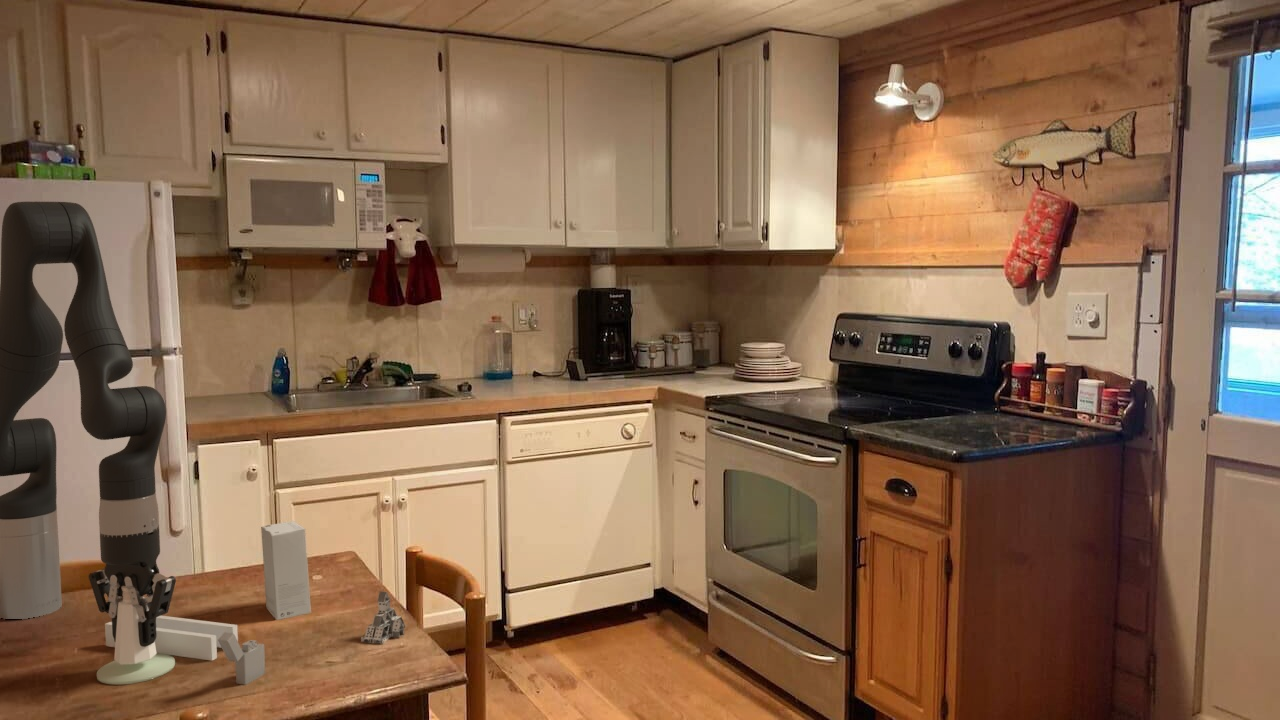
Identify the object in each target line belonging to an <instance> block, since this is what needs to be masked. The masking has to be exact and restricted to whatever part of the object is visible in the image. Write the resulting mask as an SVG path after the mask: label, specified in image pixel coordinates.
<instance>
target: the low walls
mask: <svg viewBox="0 0 1280 720" xmlns="http://www.w3.org/2000/svg"><path fill="white" fill-rule="evenodd" d="M104 629H105V630H104V633H105V647H111V648H115V641H114V637H113V633H112V621H109V622H106V623H104ZM225 632H227V633H233V634H234V635H235V637H236V639H237V641H238V642H239V636H238V635H239V634H238V624H233V623H231V624H230V623H225V622H218V621H217V622H215V621H208V620H200V619H193V618H183V617H176V616H168V615H161V616H159V617H157V618H156V640H155V646H156V652H157V653H159V654H167V655H170V656H174V657H175V656H176V657H177V656H178V657H182V658H183V657H184V658H189V659H198V660H205V661H214V660H217V658H218V652H217V651H218V649H217V648H220V649H222V647H221V645H220V643H219V641H218V639H219V638H220V637H221V636H222V635H223V634H224V633H225Z"/></svg>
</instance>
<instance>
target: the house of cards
mask: <svg viewBox="0 0 1280 720" xmlns="http://www.w3.org/2000/svg"><path fill="white" fill-rule="evenodd" d="M391 600H392V599H391V598H390V596H389V594H388V591H383V590H380V591H379V593H378V595H377V601H376V602H377V603H378V604H377V605H378V606H377V607H378V608H377V609H378V610H377V611H378V612H377V613H375V614H374V617H373V620H372V623H370V624H369V625H367V626H366V630H365V634H364V635H363V636H361V638H360V640H361V643H367V644H379V645H384V643H385V642H386V641H388V640H389V639H390V638H395V639H401V637H400V635H403V636H404V635H405V628H406V623H405V622H404V620H403V617H402V616H401V615H400V616H399V615H398V614H397V613H396V610H395V608H394V607H391Z"/></svg>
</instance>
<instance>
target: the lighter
mask: <svg viewBox="0 0 1280 720" xmlns="http://www.w3.org/2000/svg"><path fill="white" fill-rule="evenodd" d="M218 641H219V643H220V645H221V647H222V648H221V650H222V651H223V652H224V656H225V657H226V659H227V661H228V662H234V663H235V682H236V683H235V684H237V685H248V684H249V683H252V682H253V681H255V680H257V679H258V678H261V677H262V676H263V675H266V663H265V661H266V660H265V659H266V658H265V656H266V655H265V644H264V643H259V642H258V640H255V639H249V640H247V641H245V642H243V643H242V644H241V645H240V643H239V640H238V641H237V639H236V637H235V635H234V634H233V633H227V632H225V633H224V634H223V635H222V636H221V637H220V638H219V639H218Z"/></svg>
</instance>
